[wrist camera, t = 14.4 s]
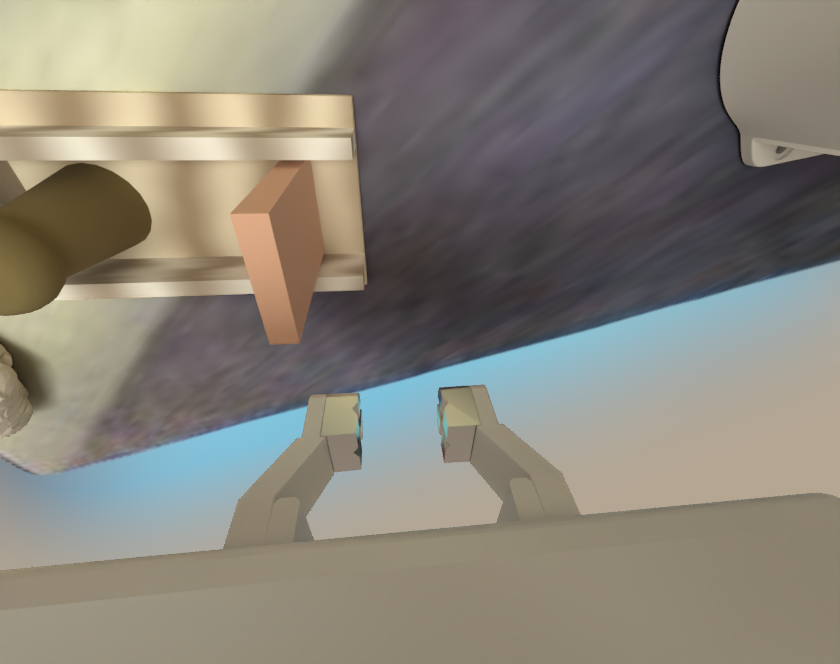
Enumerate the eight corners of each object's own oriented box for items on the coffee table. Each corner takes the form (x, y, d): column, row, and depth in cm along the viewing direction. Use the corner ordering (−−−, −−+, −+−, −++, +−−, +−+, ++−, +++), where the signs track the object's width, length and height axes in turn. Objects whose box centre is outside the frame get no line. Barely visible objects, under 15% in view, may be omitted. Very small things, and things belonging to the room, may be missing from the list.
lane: (352, 94, 24) (347, 101, 20) (367, 278, 32) (365, 309, 28) (-45, 88, 22) (-137, 95, 18) (83, 287, 30) (39, 321, 26)
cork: (41, 149, 23) (-158, 204, 15) (147, 179, 25) (25, 243, 16) (63, 234, 27) (-89, 320, 18) (155, 255, 28) (57, 343, 20)
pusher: (309, 154, 25) (268, 213, 15) (324, 250, 29) (299, 343, 20) (286, 154, 25) (229, 213, 15) (304, 250, 29) (269, 344, 20)
